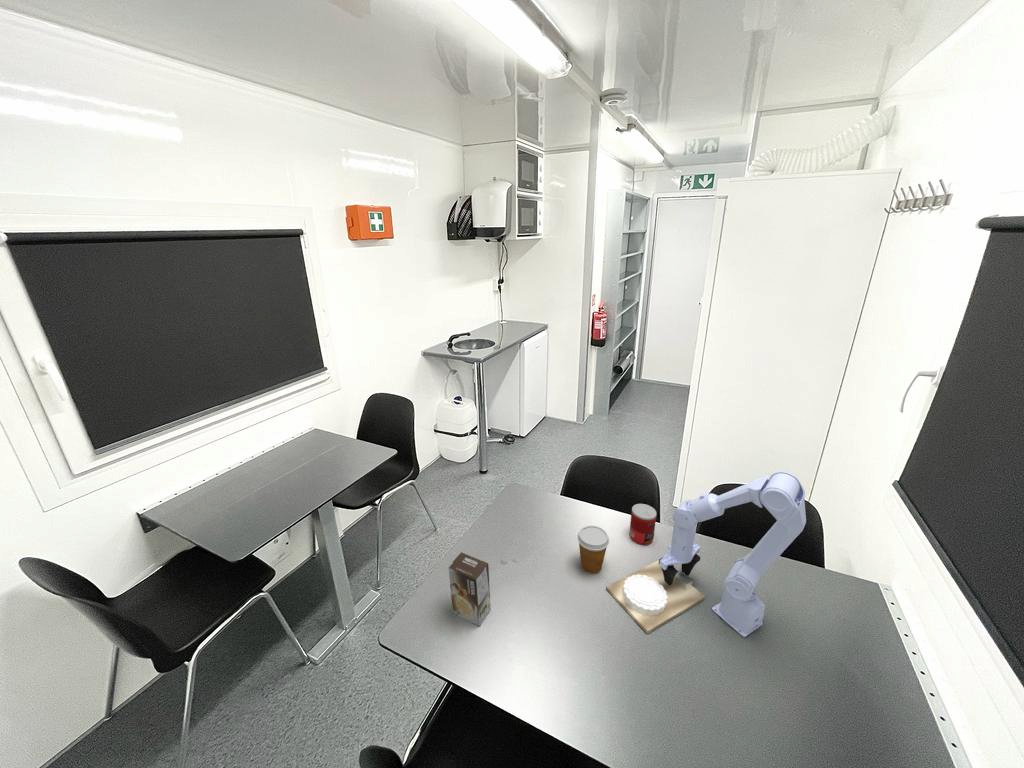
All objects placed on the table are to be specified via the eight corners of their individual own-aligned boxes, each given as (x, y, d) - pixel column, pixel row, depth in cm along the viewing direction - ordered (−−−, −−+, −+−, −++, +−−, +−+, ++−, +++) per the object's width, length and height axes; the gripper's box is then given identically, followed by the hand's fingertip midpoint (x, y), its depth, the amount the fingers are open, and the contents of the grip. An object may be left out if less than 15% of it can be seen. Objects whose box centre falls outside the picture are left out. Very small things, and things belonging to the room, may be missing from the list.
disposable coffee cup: (604, 555, 128) (607, 525, 124) (608, 579, 119) (611, 547, 115) (575, 553, 129) (576, 523, 125) (576, 577, 120) (578, 545, 116)
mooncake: (617, 581, 118) (618, 572, 116) (657, 582, 118) (659, 572, 117) (628, 618, 106) (630, 608, 105) (673, 618, 107) (675, 608, 105)
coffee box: (492, 608, 110) (490, 563, 105) (479, 627, 105) (477, 580, 99) (464, 595, 114) (461, 551, 109) (451, 613, 109) (447, 567, 103)
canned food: (648, 549, 131) (652, 521, 127) (625, 538, 135) (628, 512, 131) (656, 536, 136) (660, 509, 133) (633, 526, 141) (636, 500, 137)
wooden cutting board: (704, 599, 112) (706, 590, 111) (647, 634, 102) (648, 624, 101) (660, 561, 125) (661, 553, 124) (605, 589, 116) (606, 580, 114)
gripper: (688, 524, 119) (682, 560, 124) (653, 540, 113) (648, 577, 117) (709, 538, 113) (702, 575, 118) (673, 557, 107) (667, 595, 111)
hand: (676, 578), depth 117 cm, fingers open, 7 cm apart
